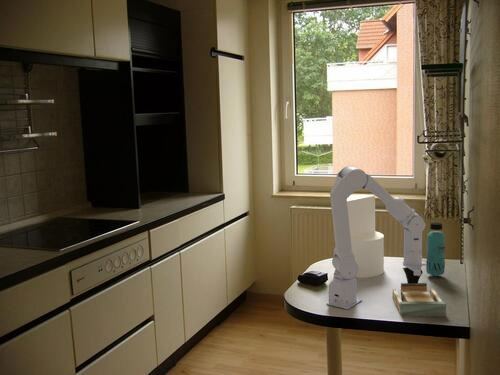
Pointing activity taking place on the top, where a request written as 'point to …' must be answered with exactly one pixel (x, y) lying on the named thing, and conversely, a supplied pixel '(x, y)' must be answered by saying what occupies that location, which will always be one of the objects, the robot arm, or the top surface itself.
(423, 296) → the small wooden block
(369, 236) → the white tall stepped piece
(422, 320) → the top surface
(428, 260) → the beverage bottle
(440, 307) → the pale green tray
